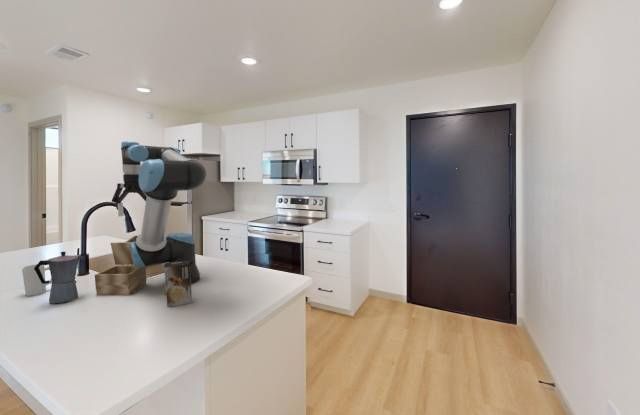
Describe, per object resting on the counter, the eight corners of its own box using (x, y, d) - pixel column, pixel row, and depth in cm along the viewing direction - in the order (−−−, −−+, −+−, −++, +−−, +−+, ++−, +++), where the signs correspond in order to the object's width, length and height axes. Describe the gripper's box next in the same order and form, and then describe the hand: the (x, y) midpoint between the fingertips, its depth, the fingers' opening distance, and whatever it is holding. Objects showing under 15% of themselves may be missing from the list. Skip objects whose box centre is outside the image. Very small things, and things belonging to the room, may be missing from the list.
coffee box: (191, 297, 119) (189, 259, 117) (192, 302, 113) (190, 263, 111) (166, 301, 114) (164, 262, 113) (166, 307, 109) (163, 267, 107)
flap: (142, 264, 131) (153, 255, 140) (138, 242, 128) (149, 235, 136) (115, 264, 131) (127, 255, 139) (110, 242, 128) (123, 235, 136)
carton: (147, 284, 133) (146, 265, 132) (130, 294, 121) (129, 274, 120) (115, 284, 132) (113, 266, 131) (95, 295, 120) (93, 274, 120)
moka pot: (91, 294, 121) (87, 248, 119) (47, 310, 107) (42, 258, 105) (77, 291, 124) (73, 247, 122) (32, 306, 110) (26, 256, 108)
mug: (25, 297, 118) (22, 269, 117) (24, 293, 122) (21, 266, 121) (57, 290, 126) (55, 264, 124) (55, 286, 130) (53, 261, 129)
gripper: (161, 174, 143) (163, 215, 146) (111, 173, 142) (114, 214, 145) (153, 174, 136) (155, 218, 138) (100, 173, 135) (104, 217, 138)
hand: (134, 216), depth 142 cm, fingers open, 13 cm apart
